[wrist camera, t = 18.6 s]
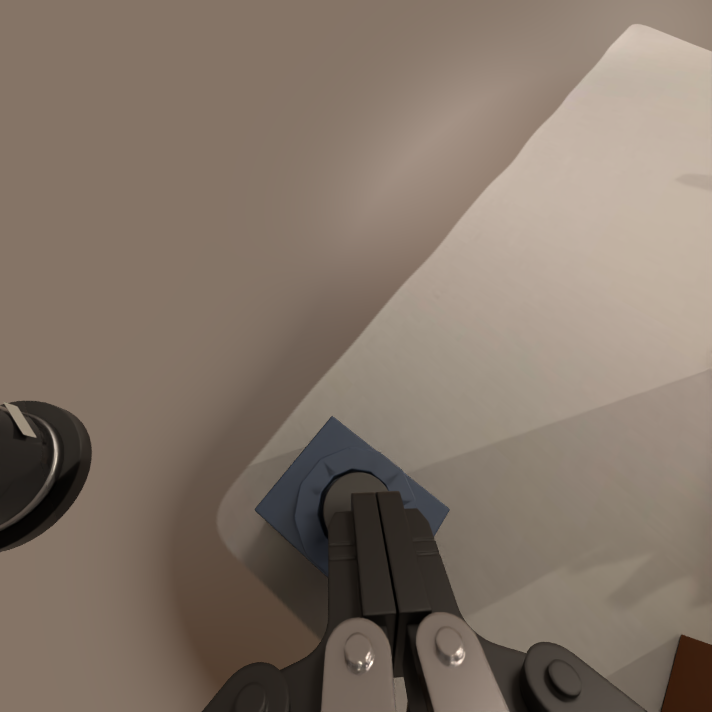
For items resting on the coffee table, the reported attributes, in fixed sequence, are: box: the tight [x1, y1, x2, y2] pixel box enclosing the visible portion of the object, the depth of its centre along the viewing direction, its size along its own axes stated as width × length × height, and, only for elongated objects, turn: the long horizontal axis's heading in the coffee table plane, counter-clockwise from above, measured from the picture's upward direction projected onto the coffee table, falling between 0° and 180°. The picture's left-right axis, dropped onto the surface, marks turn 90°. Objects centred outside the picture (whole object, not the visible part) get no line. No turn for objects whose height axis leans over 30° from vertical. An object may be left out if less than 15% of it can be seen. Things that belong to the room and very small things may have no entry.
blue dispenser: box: [255, 416, 450, 577], centre depth 22 cm, size 9×7×9 cm
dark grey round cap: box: [323, 472, 388, 529], centre depth 17 cm, size 3×3×2 cm
